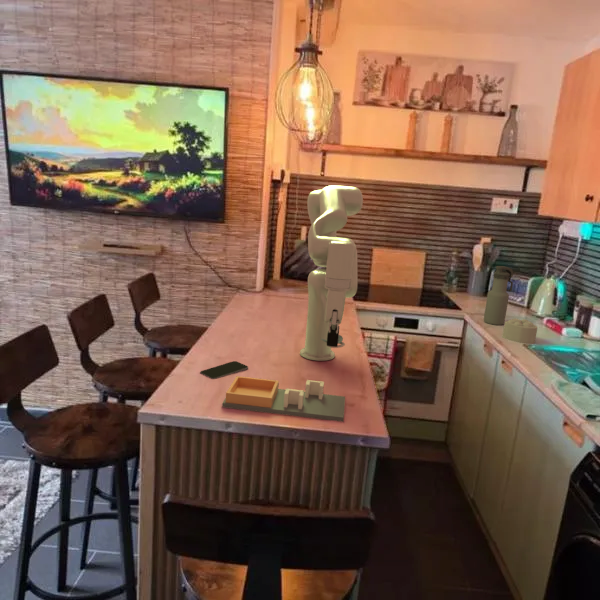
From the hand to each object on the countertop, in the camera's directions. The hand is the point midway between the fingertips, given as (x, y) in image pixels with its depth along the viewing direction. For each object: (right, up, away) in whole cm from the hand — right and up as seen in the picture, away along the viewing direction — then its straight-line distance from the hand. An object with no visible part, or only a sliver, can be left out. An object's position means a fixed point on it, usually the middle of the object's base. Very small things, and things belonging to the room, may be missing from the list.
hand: (332, 341), depth 155 cm
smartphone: (-34, -11, +13) cm, 38 cm away
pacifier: (0, -1, 0) cm, 1 cm away
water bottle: (+86, +1, +101) cm, 133 cm away
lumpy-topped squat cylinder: (+87, -5, +75) cm, 115 cm away
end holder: (-23, -15, -8) cm, 28 cm away
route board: (-14, -17, -8) cm, 23 cm away
